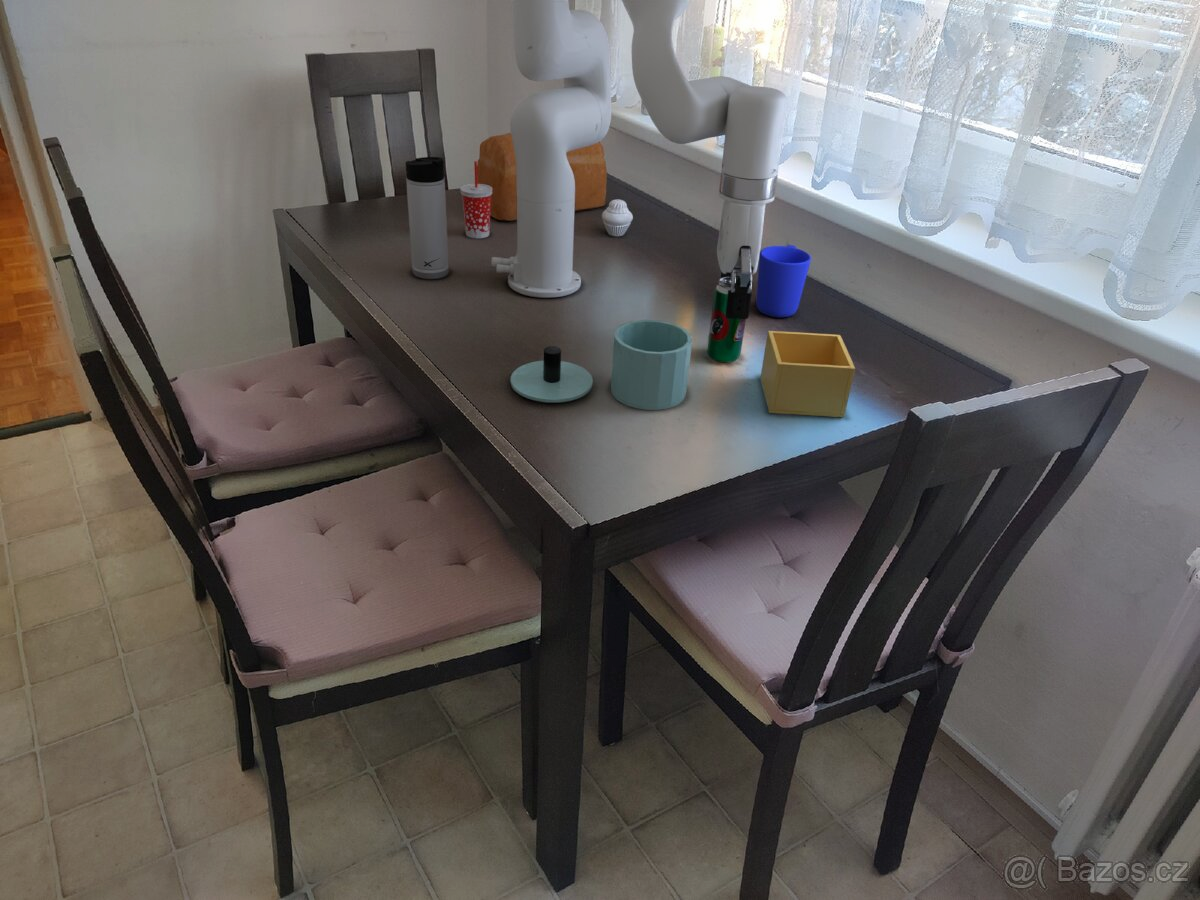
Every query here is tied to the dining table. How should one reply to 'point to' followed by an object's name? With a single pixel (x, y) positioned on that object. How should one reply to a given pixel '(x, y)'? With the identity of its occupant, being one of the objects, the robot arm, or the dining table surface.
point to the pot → (650, 364)
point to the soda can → (724, 327)
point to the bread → (502, 177)
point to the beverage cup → (476, 208)
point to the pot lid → (551, 379)
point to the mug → (781, 280)
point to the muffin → (617, 218)
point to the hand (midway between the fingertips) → (733, 304)
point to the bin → (806, 374)
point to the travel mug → (427, 217)
